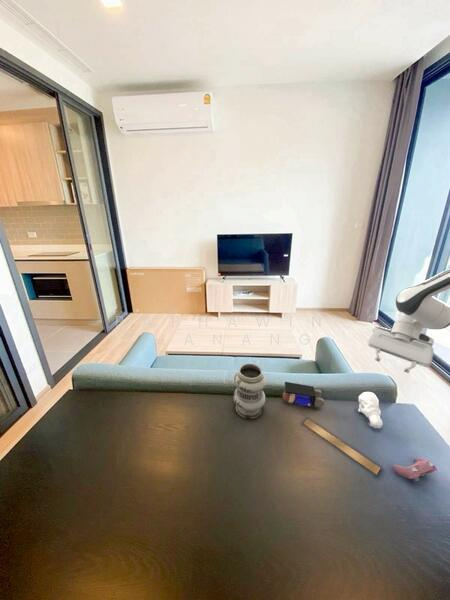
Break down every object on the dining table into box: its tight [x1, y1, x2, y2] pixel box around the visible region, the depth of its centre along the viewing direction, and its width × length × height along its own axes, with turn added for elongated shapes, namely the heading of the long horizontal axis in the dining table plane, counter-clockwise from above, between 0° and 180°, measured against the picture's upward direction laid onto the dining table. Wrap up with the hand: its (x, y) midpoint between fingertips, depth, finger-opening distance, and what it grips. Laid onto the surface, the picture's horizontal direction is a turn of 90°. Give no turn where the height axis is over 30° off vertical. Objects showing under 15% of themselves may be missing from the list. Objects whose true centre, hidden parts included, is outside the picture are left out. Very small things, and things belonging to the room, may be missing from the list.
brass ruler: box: [303, 418, 381, 476], centre depth 80 cm, size 24×3×1 cm, turn 42°
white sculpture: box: [357, 391, 383, 430], centre depth 89 cm, size 6×8×12 cm
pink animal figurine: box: [393, 457, 438, 482], centre depth 70 cm, size 10×5×7 cm, turn 105°
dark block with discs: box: [282, 381, 325, 409], centre depth 96 cm, size 7×8×15 cm
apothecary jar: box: [232, 363, 267, 420], centre depth 91 cm, size 12×12×18 cm
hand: (391, 366), depth 91 cm, fingers open, 8 cm apart
